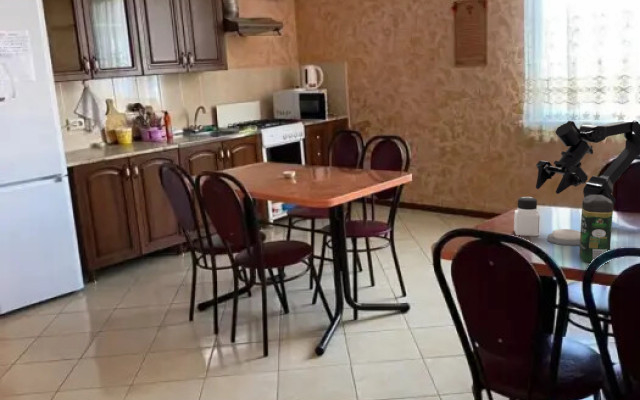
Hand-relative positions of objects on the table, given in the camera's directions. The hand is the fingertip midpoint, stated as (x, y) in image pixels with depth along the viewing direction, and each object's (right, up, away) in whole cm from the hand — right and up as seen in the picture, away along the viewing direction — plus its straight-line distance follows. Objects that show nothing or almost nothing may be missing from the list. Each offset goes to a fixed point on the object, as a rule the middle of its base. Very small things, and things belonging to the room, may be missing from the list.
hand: (546, 190), depth 208 cm
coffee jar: (+3, -20, -29) cm, 36 cm away
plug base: (+3, -16, -10) cm, 19 cm away
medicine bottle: (-7, -14, 0) cm, 16 cm away
